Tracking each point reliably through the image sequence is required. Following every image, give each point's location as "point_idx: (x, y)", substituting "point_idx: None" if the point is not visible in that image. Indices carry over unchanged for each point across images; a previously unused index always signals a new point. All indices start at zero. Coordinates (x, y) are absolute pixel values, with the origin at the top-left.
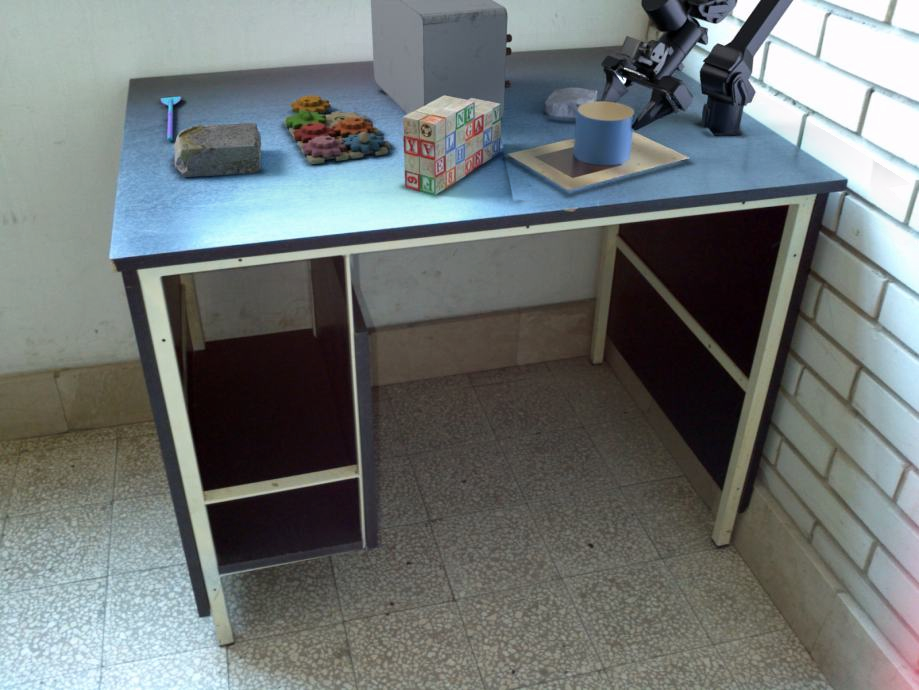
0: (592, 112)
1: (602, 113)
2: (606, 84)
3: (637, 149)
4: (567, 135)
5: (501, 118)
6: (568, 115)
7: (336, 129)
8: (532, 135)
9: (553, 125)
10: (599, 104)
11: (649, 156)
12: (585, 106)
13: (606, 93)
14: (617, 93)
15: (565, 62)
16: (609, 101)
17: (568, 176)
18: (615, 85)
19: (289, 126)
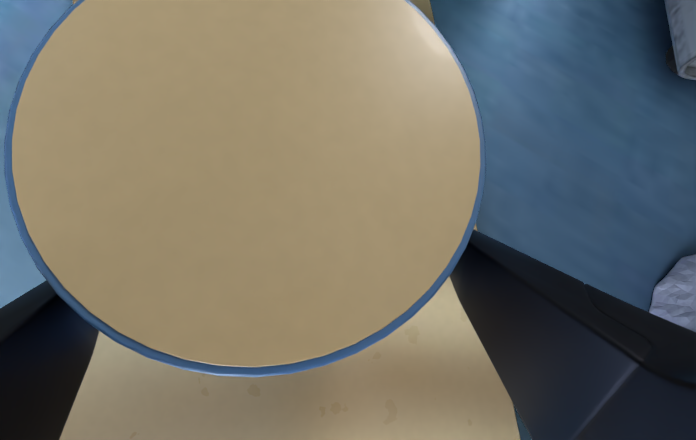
0: (277, 18)
1: (225, 67)
2: (690, 335)
3: (270, 390)
4: (537, 238)
5: (678, 69)
6: (680, 310)
7: None
8: (565, 134)
9: (632, 243)
10: (413, 162)
11: (174, 396)
12: (411, 52)
13: (554, 291)
14: (568, 432)
15: None
16: (498, 319)
17: None
18: (649, 432)
19: None
